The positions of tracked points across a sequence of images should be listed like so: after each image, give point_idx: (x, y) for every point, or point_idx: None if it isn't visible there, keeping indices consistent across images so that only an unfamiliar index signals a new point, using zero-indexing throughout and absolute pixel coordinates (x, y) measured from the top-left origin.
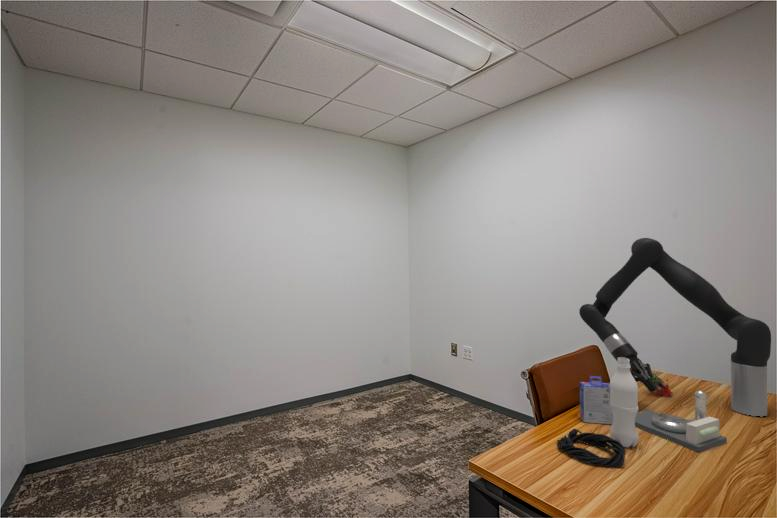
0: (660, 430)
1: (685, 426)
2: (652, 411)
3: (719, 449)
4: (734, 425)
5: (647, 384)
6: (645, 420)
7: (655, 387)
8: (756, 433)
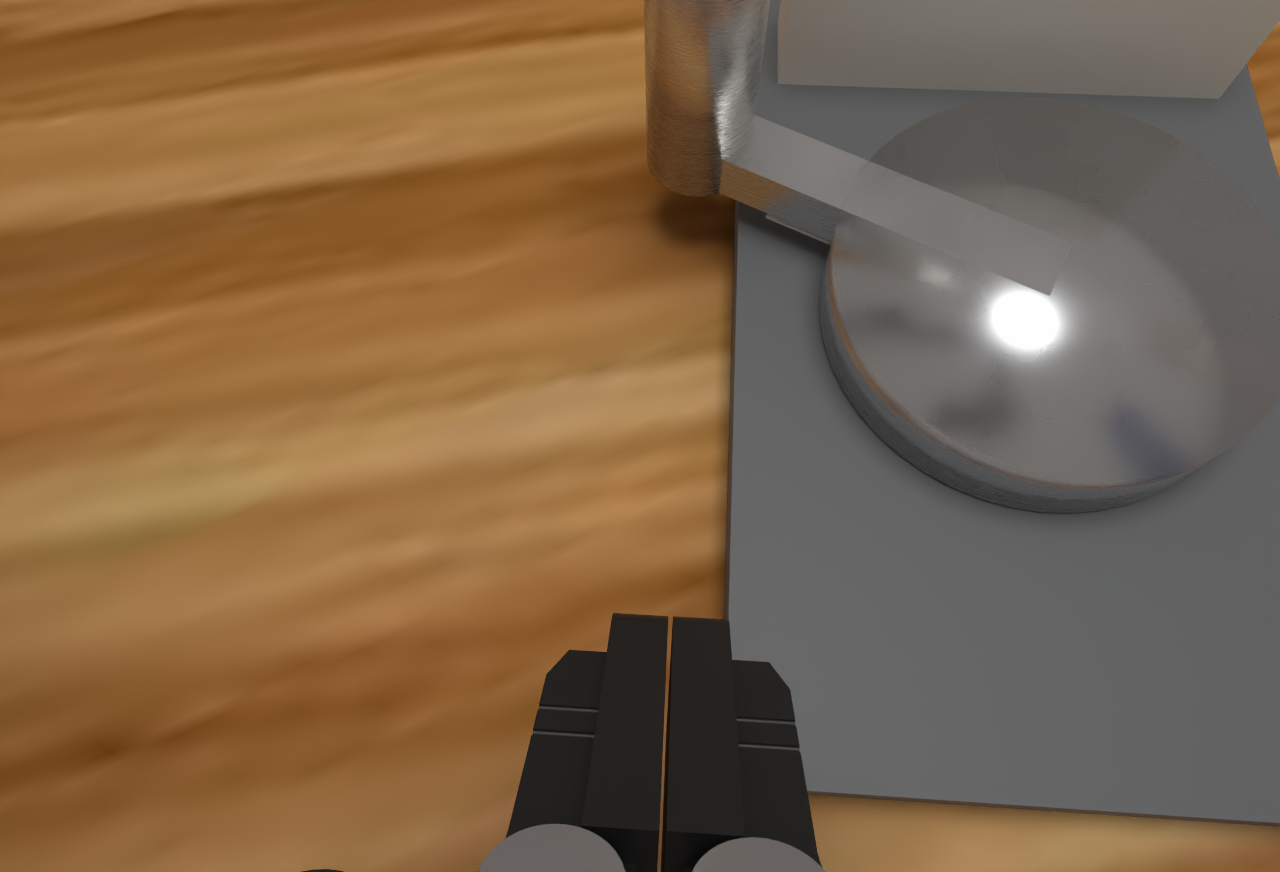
0: None
1: (1085, 112)
2: None
3: None
4: (184, 145)
5: (802, 794)
6: (1188, 574)
7: (664, 628)
8: (254, 5)
